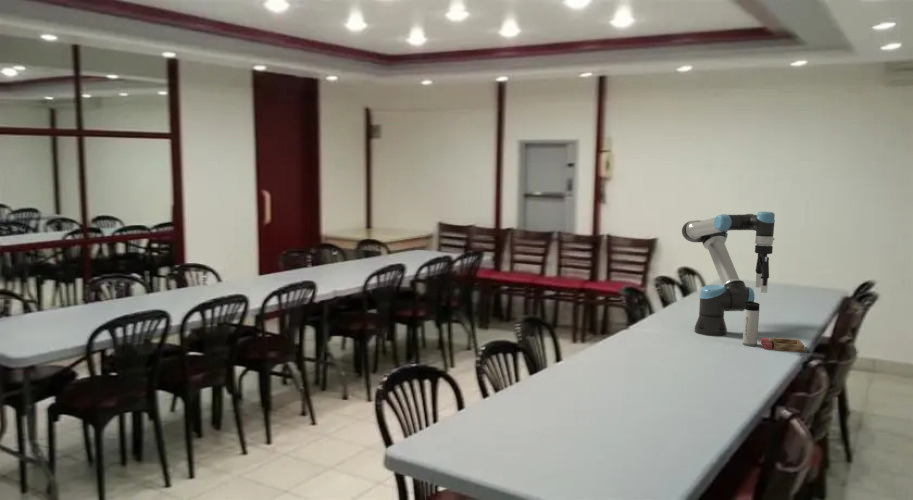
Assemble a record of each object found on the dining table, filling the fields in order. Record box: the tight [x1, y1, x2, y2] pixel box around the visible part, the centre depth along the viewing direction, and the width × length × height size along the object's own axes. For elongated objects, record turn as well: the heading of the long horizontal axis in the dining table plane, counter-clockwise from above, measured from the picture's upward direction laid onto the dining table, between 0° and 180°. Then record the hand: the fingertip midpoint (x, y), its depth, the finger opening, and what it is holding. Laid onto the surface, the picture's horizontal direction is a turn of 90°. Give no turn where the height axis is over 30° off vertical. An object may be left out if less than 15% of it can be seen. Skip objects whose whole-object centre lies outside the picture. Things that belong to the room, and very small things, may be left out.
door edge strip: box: [760, 337, 773, 351], centre depth 327 cm, size 3×12×2 cm, turn 165°
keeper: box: [769, 337, 806, 353], centre depth 325 cm, size 13×13×3 cm
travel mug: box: [742, 301, 760, 347], centre depth 329 cm, size 6×7×20 cm
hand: (761, 289), depth 334 cm, fingers open, 13 cm apart
